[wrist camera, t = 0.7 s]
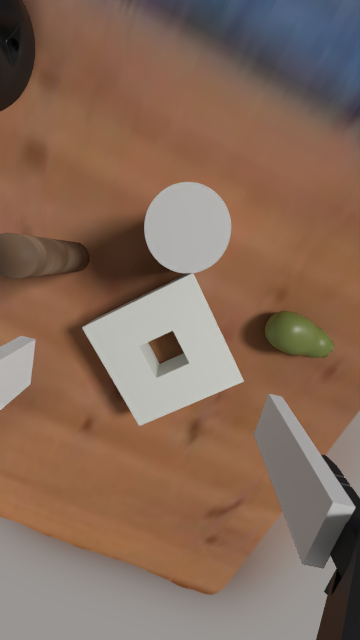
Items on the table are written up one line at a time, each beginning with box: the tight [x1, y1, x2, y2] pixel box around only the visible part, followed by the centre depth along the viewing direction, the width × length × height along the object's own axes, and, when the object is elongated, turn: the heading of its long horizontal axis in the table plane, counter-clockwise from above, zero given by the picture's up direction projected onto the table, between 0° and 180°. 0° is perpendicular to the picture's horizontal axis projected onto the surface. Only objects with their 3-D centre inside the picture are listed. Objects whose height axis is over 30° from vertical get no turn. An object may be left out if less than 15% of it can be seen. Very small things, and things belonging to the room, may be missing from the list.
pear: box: [265, 311, 334, 358], centre depth 37 cm, size 6×5×10 cm
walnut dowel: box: [0, 233, 89, 279], centre depth 31 cm, size 4×4×14 cm
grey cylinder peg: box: [144, 182, 231, 273], centre depth 31 cm, size 8×8×12 cm
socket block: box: [82, 273, 244, 426], centre depth 38 cm, size 16×16×5 cm
